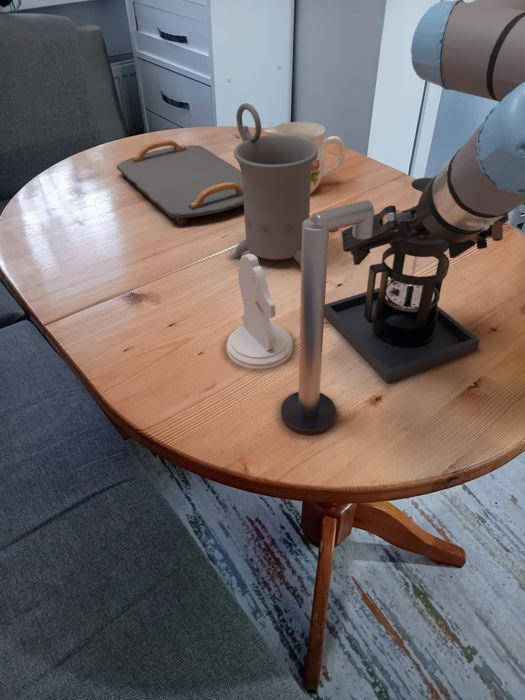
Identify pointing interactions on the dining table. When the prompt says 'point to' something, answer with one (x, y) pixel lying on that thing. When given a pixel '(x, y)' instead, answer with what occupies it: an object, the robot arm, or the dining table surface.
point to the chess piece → (257, 323)
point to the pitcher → (316, 136)
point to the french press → (407, 289)
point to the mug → (273, 190)
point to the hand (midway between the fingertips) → (403, 251)
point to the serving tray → (185, 180)
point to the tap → (318, 315)
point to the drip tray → (394, 359)
